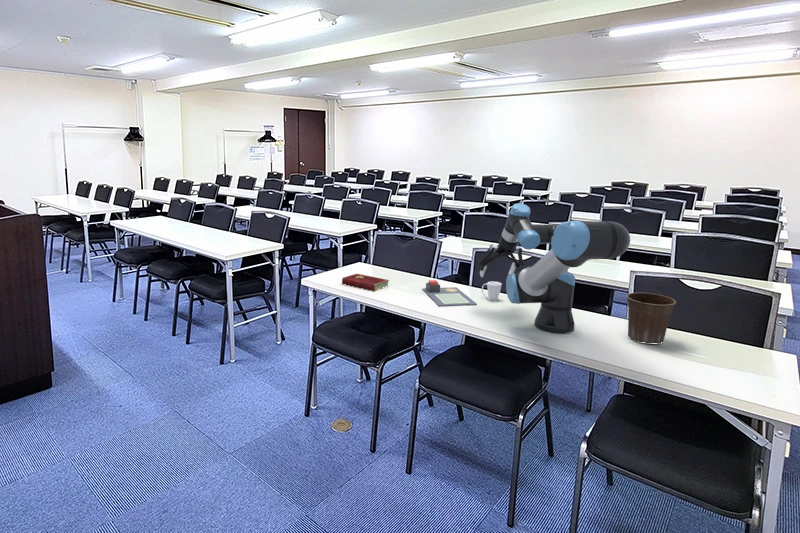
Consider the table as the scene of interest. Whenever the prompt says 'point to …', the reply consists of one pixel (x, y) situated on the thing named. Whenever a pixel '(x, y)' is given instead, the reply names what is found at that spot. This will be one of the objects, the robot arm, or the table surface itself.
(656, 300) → the plant pot
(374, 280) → the hardcover book
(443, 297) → the picture board
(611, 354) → the table surface
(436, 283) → the button
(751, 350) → the table surface
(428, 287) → the button housing
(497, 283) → the cup
